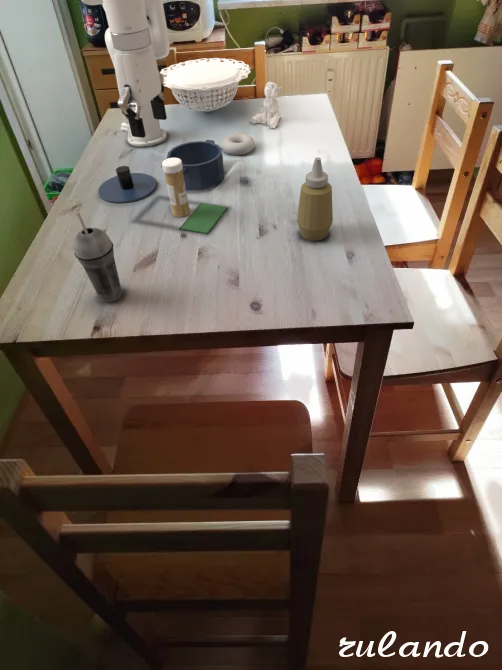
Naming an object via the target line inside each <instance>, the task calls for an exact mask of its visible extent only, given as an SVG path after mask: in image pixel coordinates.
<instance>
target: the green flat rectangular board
mask: <svg viewBox="0 0 502 670" xmlns="http://www.w3.org/2000/svg"><path fill="white" fill-rule="evenodd" d="M227 210H228V206H225V205H224V206H223V205H219V204H213V203H212V204H211V203H204V202H200V203H199V205H198V206H197V207H196V208H195V209H194V211H193V212H192V213H191V214H189V216H188V217H187V219H186V220H185V221H184V222H183V223H182V224H181V226H180V227H179V228H178V230H182V231H189V232H194V233H197V234H198V233H200V234H205V235H209V233H210V231H211V230H212V229H213V228H214V226H215V225H216V224H217V222H218V221H219V220H220V219H221V217H223V215H224V213H225V212H226V211H227Z"/></svg>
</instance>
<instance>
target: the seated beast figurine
mask: <svg viewBox="0 0 502 670" xmlns="http://www.w3.org/2000/svg"><path fill="white" fill-rule="evenodd" d="M281 90H282V86H279V85H278V84H277V83H275V82H272V81H268V82H267V81H266V84H265V86H264V89H263V91H264V92H263V94H264V96H265V98H264V99H263V101H262V104H261V106H262V108H263V109H262V112H260V113H256V114H254V115H253V116H252V117H251V123H252V124H254V125H255V124H264V125H268V126H270V127H269V128H271V129H275V128H276V127H277V125H278V124H279V121H280V118H281V116H282V113H281V109H280V106H279V102H278V100H277V98H276V97H277V96H278V94H279V93H280V91H281Z"/></svg>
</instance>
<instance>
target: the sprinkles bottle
mask: <svg viewBox="0 0 502 670" xmlns="http://www.w3.org/2000/svg"><path fill="white" fill-rule="evenodd" d="M161 166H162V171H163V173H164V177H165V180H166V181H165V182H166V188H167V193H168V198H169V202H170V206H171V212H172V213H171V214H172V216H173V217H176V218H184V217H187V216H188V215H190V213H191V209H190V205H189V197H188V192H187V190H186V186H185V182H184V176H183V171H182V170H183V166H182V161H181V160H180V159H179V158H168V159H167V158H166V159H164V160H163V161H162V162H161Z"/></svg>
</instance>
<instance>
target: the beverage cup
mask: <svg viewBox="0 0 502 670" xmlns="http://www.w3.org/2000/svg"><path fill="white" fill-rule="evenodd" d="M76 215H77V218H78V220H79V223H80V225H81V227H82V229H81V230H79V232H78V233H77V234H76V236H75V237H74V239H73V251H74V253H73V254H74V256H75V258H76V259H77V261H78V262H79V263H80V265H82V268H83V269H84V271H85V273H86V275H87V277H88V279H89V281H90V283H91V284H92V286H93V288H94V290H95V292H96V294H97V296H98V297H99V299H100V301H102V302H103V303H113V302H115V301H118V300H119V299H120V298H121V297H122V294H123V293H122V287H121V286H122V285H121V282H120V278H119V273H118V269H117V265H116V259H115V250H114V243H113V242H112V240H111V238H110V237H109V235H108V234H107V233H106V232H105V231H104V230H102V229H100V228H97V227H86V224H85V223H84V220H83V217H82V216H81V214H80V211H77V212H76Z"/></svg>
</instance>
